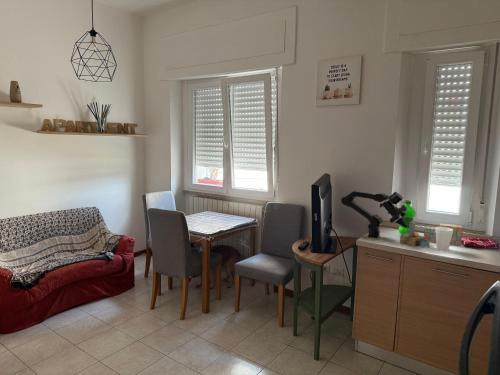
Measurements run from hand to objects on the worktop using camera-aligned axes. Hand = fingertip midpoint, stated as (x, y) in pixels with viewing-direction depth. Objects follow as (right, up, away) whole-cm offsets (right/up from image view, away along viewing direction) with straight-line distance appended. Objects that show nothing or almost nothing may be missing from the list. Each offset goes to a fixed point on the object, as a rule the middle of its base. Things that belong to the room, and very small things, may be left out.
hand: (407, 227), depth 227 cm
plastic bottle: (+8, -8, +19) cm, 22 cm away
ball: (+4, -4, -3) cm, 7 cm away
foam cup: (+16, -12, -12) cm, 24 cm away
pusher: (+2, -5, -1) cm, 6 cm away
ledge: (+3, -10, -1) cm, 11 cm away
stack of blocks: (+25, -11, +4) cm, 27 cm away
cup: (+8, -11, -6) cm, 15 cm away
